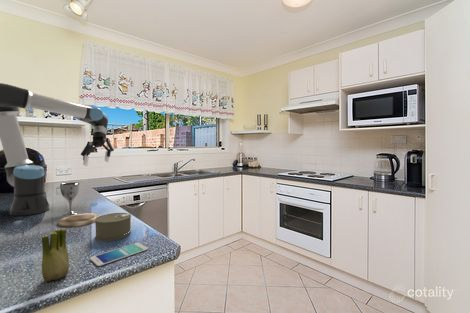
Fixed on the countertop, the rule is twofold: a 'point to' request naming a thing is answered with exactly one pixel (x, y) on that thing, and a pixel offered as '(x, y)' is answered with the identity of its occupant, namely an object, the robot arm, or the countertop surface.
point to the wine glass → (70, 194)
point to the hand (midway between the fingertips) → (95, 163)
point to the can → (113, 226)
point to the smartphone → (117, 254)
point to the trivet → (78, 220)
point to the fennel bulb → (55, 256)
